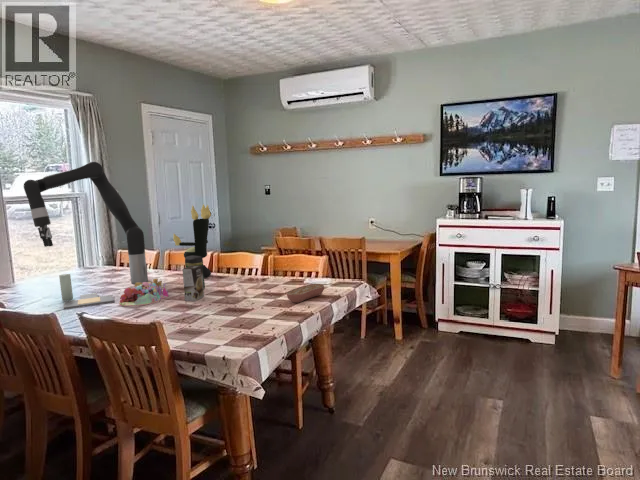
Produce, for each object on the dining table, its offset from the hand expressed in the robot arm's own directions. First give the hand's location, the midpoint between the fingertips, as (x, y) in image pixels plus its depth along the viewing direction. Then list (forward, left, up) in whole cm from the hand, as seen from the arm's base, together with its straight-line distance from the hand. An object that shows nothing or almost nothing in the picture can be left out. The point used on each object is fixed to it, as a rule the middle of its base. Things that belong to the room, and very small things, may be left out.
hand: (48, 246), depth 244 cm
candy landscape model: (-42, +42, -27) cm, 65 cm away
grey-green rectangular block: (-7, +18, -27) cm, 33 cm away
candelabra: (-78, +6, -27) cm, 82 cm away
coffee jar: (-69, +37, -27) cm, 83 cm away
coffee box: (-64, +57, -27) cm, 90 cm away
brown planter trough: (-109, +90, -27) cm, 144 cm away
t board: (-17, +28, -27) cm, 42 cm away
